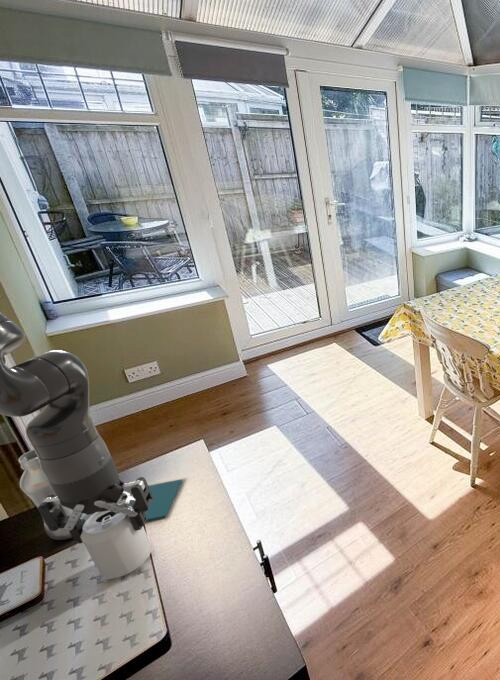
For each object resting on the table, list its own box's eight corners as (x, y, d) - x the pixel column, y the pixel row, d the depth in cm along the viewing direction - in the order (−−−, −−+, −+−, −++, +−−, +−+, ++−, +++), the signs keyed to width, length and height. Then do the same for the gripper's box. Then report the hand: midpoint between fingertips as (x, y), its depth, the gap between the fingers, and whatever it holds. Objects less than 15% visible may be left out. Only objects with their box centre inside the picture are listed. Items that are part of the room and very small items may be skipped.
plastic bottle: (60, 522, 85) (18, 447, 77) (103, 511, 87) (66, 438, 79) (43, 550, 80) (-4, 472, 72) (89, 538, 82) (47, 462, 74)
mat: (106, 530, 84) (105, 528, 83) (129, 491, 92) (128, 489, 92) (165, 517, 87) (164, 515, 87) (182, 481, 95) (181, 479, 95)
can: (150, 535, 83) (131, 492, 78) (156, 562, 78) (135, 518, 73) (100, 560, 78) (76, 516, 73) (102, 590, 73) (77, 545, 68)
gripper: (141, 440, 74) (168, 505, 80) (38, 457, 69) (75, 525, 76) (121, 471, 67) (152, 539, 74) (6, 493, 63) (49, 563, 69)
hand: (113, 532), depth 75 cm, fingers closed on can, 7 cm apart
